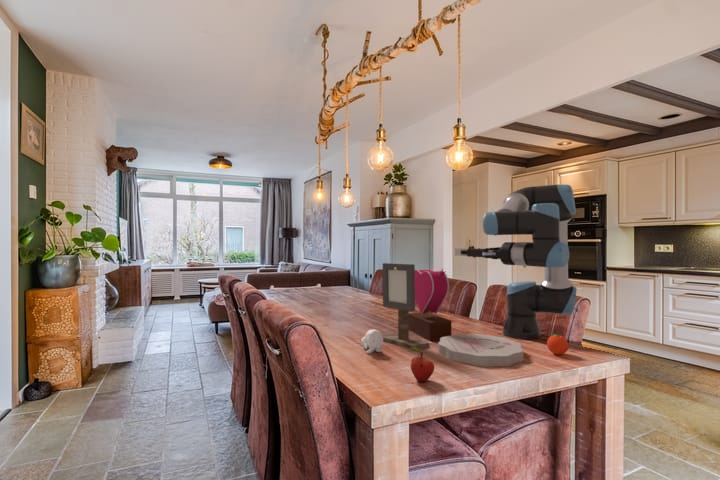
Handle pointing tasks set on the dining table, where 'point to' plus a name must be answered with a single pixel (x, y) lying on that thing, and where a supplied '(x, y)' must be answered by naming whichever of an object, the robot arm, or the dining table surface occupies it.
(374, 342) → the white animal figurine
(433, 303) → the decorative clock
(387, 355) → the dining table surface
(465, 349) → the decorative plaque
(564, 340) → the clementine
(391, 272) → the picture frame
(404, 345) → the display stand
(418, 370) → the apple
